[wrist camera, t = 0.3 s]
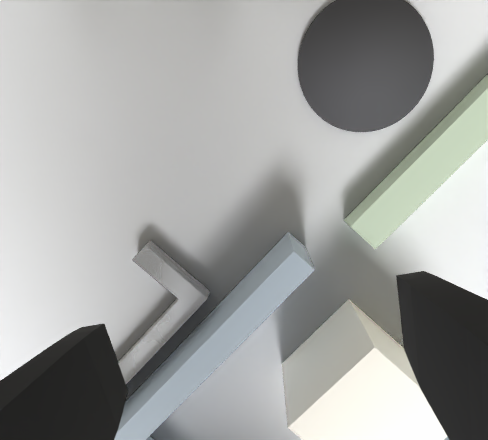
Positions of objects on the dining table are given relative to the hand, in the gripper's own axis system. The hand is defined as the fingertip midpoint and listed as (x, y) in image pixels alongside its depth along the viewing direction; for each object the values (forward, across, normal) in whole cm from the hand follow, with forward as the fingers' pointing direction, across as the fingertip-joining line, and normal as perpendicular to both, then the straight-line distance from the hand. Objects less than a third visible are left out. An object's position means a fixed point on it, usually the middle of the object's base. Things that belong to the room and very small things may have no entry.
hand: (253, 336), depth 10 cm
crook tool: (+10, +8, +5) cm, 14 cm away
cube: (+10, -3, +9) cm, 14 cm away
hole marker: (+12, -6, -6) cm, 14 cm away
